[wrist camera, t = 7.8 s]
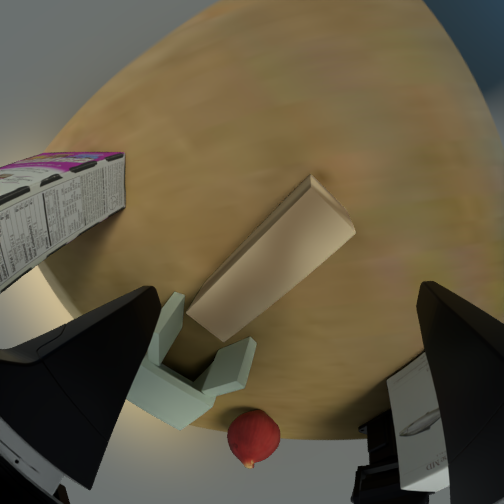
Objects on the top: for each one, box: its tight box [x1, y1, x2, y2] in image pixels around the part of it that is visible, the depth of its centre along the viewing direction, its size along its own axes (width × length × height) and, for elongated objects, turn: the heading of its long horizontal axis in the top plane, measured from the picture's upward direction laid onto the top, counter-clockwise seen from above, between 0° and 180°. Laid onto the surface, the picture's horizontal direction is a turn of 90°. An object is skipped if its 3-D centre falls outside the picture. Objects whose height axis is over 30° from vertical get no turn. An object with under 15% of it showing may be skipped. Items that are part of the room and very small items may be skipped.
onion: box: [227, 410, 280, 469], centre depth 27 cm, size 6×6×8 cm
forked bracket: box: [126, 292, 257, 430], centre depth 25 cm, size 9×12×6 cm
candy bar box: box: [0, 152, 126, 294], centre depth 14 cm, size 11×5×16 cm, turn 84°
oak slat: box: [186, 174, 356, 342], centre depth 19 cm, size 4×12×4 cm, turn 139°
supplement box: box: [387, 352, 450, 492], centre depth 17 cm, size 7×7×13 cm
